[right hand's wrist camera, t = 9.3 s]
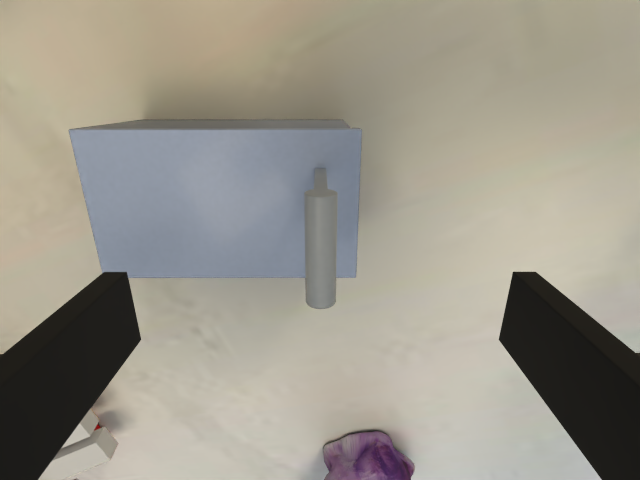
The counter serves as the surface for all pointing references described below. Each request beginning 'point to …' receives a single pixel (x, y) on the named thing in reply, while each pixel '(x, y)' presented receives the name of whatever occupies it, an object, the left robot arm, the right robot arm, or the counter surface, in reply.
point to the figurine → (366, 458)
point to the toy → (82, 450)
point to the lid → (224, 202)
